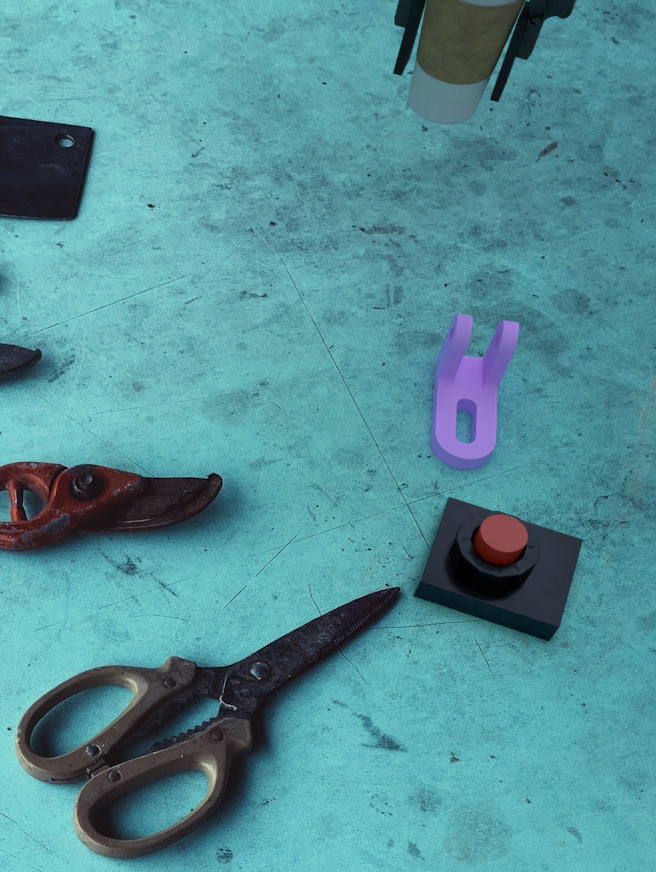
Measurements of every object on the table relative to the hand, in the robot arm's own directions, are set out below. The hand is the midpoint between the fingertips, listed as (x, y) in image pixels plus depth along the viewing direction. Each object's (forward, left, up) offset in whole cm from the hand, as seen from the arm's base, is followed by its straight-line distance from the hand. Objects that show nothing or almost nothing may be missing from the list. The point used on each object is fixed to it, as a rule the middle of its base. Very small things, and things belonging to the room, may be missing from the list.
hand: (449, 78), depth 100 cm
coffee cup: (0, 0, -2) cm, 2 cm away
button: (-18, +30, -18) cm, 39 cm away
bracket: (-12, +13, -22) cm, 28 cm away
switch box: (-19, +30, -22) cm, 41 cm away
